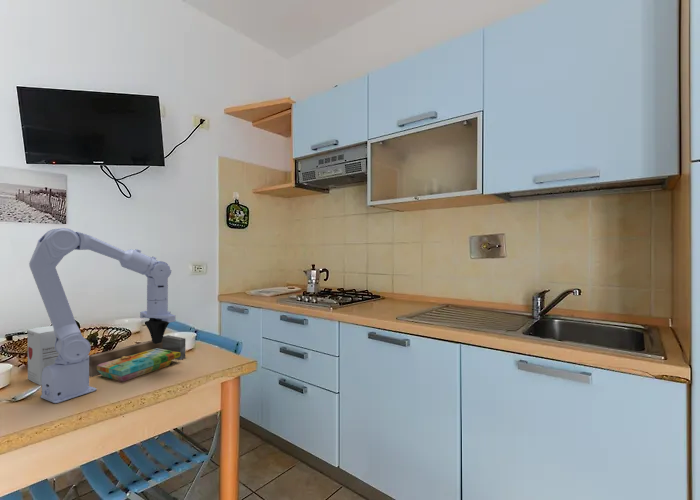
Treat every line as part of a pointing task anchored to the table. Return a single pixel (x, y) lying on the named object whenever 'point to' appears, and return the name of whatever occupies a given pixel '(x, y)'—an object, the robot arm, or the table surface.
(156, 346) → the shelf corner
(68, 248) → the robot arm
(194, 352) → the table surface
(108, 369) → the puzzle game
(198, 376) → the table surface
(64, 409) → the table surface
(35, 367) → the supplement box
